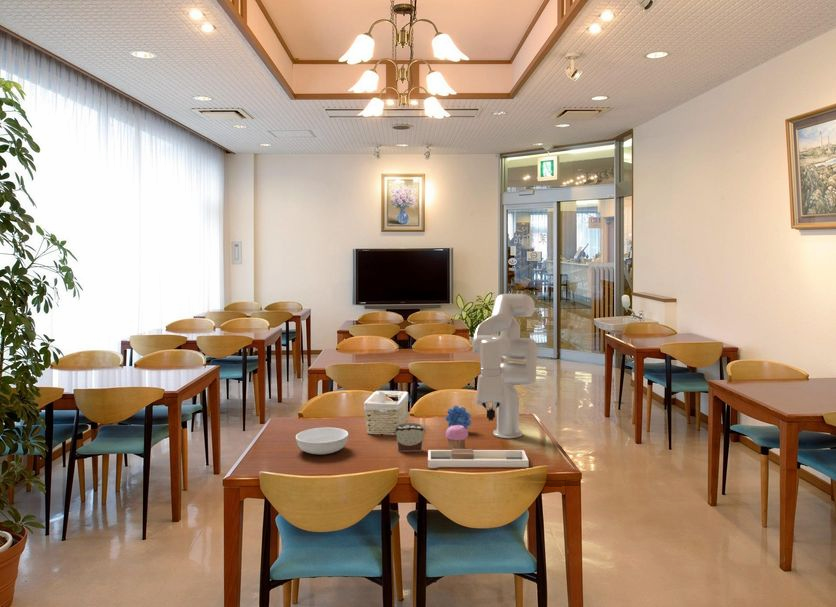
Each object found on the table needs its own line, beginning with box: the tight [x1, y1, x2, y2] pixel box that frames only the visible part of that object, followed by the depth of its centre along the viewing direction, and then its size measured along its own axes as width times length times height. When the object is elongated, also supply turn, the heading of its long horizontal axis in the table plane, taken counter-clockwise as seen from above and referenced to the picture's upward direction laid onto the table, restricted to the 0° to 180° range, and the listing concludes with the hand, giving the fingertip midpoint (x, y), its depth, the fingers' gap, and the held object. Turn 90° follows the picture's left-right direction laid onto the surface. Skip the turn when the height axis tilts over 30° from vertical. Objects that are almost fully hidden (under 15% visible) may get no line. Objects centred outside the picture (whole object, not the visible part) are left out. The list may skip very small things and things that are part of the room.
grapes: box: [445, 405, 472, 431], centre depth 282 cm, size 12×7×12 cm, turn 102°
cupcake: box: [445, 425, 469, 450], centre depth 258 cm, size 9×9×10 cm
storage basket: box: [363, 390, 409, 436], centre depth 290 cm, size 24×16×15 cm
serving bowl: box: [295, 426, 349, 456], centre depth 258 cm, size 21×21×7 cm
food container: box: [394, 422, 426, 452], centre depth 260 cm, size 12×6×10 cm, turn 92°
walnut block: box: [451, 448, 474, 459], centre depth 242 cm, size 6×8×4 cm
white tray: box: [427, 449, 530, 469], centre depth 243 cm, size 12×37×3 cm, turn 89°
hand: (490, 419), depth 242 cm, fingers closed
